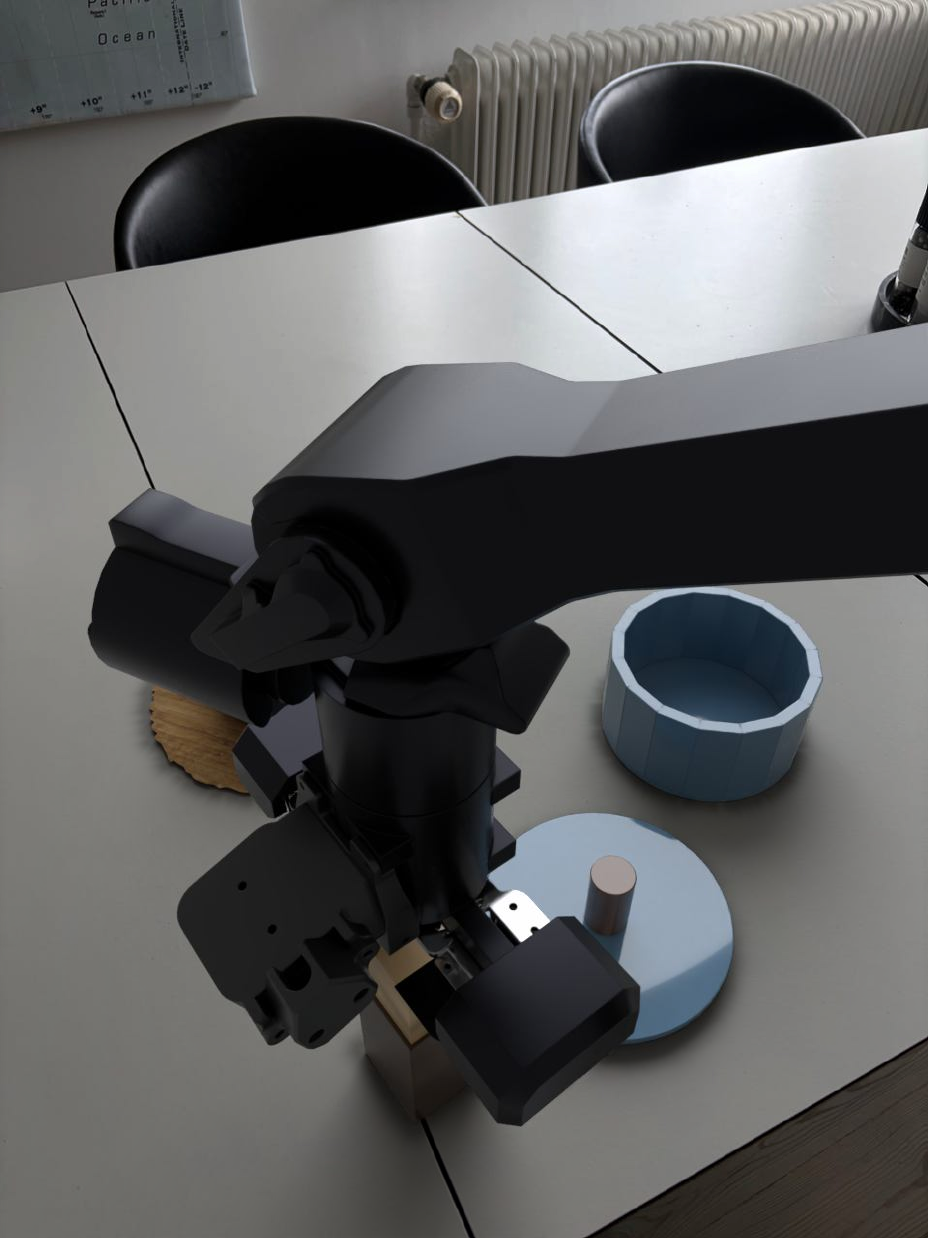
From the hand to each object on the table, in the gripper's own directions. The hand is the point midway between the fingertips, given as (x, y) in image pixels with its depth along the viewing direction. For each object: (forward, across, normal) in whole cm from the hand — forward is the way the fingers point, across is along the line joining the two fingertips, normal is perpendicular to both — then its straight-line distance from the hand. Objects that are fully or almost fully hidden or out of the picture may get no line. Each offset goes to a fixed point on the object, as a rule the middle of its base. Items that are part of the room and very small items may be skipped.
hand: (422, 975), depth 44 cm
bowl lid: (+8, 0, +12) cm, 14 cm away
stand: (+8, 0, 0) cm, 8 cm away
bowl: (+8, -7, +27) cm, 29 cm away
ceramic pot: (+9, -26, +7) cm, 28 cm away
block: (0, 0, 0) cm, 0 cm away
